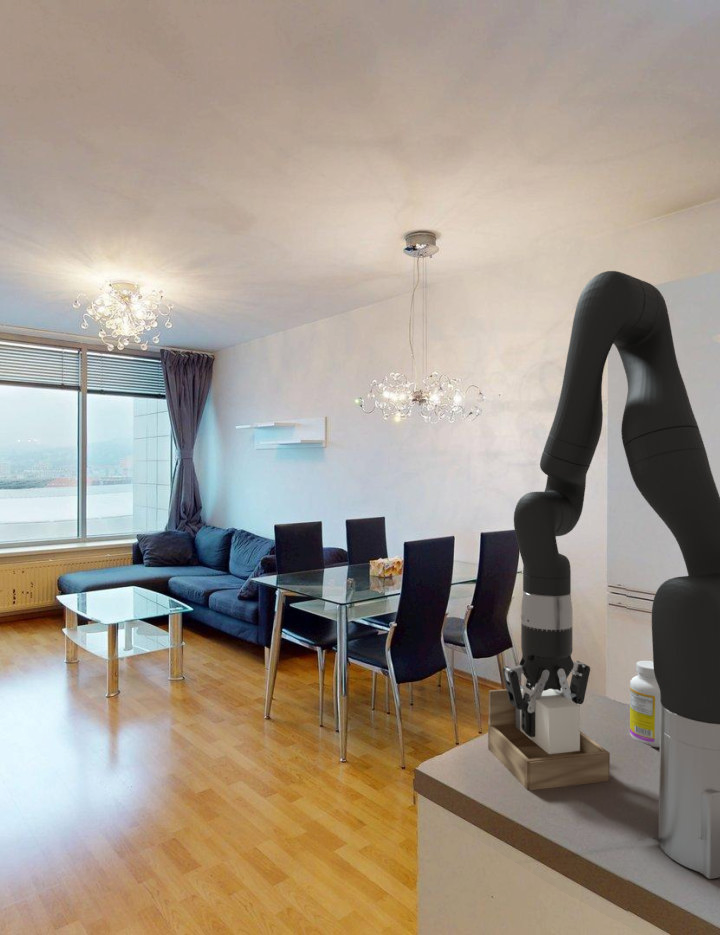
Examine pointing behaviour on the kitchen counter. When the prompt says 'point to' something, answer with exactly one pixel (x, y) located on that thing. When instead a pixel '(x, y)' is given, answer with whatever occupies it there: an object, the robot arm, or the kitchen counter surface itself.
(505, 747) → the wooden box
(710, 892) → the kitchen counter surface
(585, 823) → the kitchen counter surface
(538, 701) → the capped box
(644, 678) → the supplement bottle
